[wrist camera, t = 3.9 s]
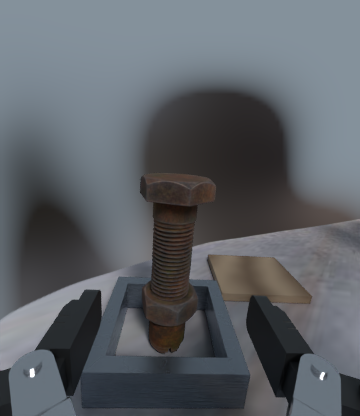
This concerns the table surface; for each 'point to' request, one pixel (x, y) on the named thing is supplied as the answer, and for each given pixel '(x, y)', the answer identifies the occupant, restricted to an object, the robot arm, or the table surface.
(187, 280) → the bolt
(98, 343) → the steel collar
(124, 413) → the table surface
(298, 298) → the tan pad
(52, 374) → the robot arm
